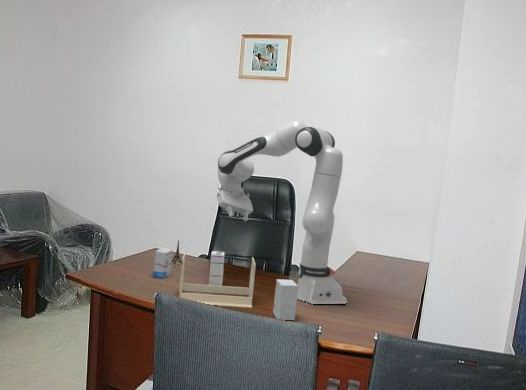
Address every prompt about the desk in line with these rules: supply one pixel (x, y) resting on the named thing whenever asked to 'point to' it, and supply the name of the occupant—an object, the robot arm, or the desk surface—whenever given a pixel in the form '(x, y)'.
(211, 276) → the syrup box
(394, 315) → the desk surface
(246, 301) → the wooden rack
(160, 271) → the ink box
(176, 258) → the eiffel tower figurine
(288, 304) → the small box
